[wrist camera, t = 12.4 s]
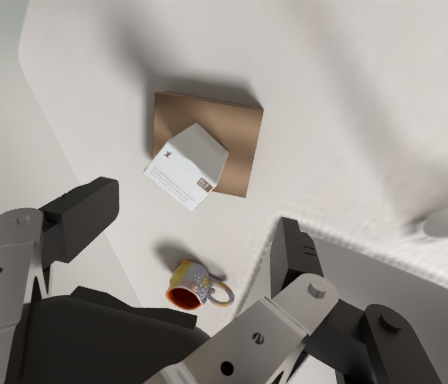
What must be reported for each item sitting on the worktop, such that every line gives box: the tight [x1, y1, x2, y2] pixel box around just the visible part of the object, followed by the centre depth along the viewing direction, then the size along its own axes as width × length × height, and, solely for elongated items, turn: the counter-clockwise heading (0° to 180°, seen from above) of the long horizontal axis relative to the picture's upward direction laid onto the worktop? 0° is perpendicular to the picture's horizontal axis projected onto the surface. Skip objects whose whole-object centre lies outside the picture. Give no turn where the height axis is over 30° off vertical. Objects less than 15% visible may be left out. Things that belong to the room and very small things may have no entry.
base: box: [153, 92, 263, 198], centre depth 36 cm, size 12×14×4 cm
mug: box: [166, 259, 234, 310], centre depth 45 cm, size 12×7×7 cm, turn 74°
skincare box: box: [144, 123, 229, 211], centre depth 28 cm, size 6×4×12 cm
